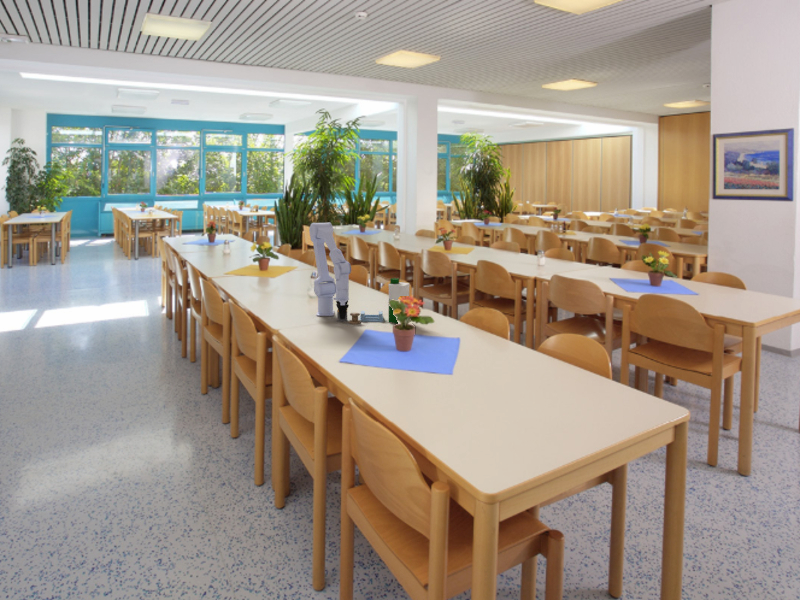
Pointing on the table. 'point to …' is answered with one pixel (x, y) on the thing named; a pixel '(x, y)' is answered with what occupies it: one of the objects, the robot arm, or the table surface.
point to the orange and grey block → (341, 319)
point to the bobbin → (354, 318)
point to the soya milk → (396, 294)
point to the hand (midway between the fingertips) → (342, 317)
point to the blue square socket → (371, 317)
